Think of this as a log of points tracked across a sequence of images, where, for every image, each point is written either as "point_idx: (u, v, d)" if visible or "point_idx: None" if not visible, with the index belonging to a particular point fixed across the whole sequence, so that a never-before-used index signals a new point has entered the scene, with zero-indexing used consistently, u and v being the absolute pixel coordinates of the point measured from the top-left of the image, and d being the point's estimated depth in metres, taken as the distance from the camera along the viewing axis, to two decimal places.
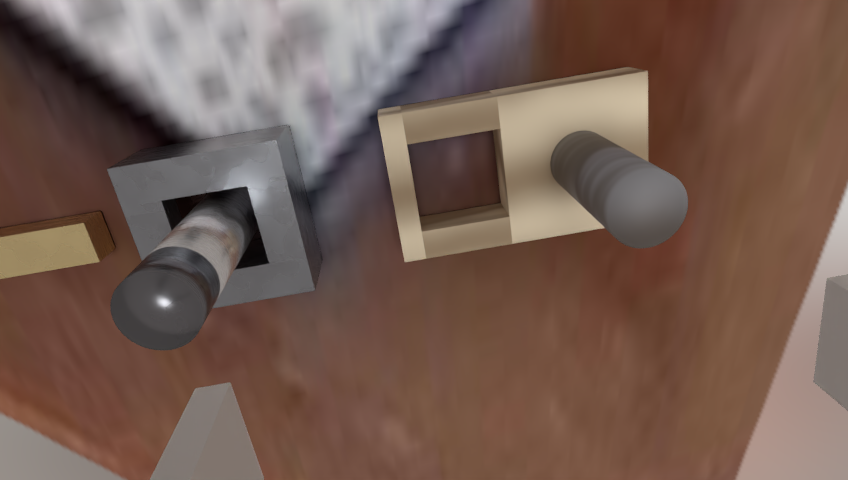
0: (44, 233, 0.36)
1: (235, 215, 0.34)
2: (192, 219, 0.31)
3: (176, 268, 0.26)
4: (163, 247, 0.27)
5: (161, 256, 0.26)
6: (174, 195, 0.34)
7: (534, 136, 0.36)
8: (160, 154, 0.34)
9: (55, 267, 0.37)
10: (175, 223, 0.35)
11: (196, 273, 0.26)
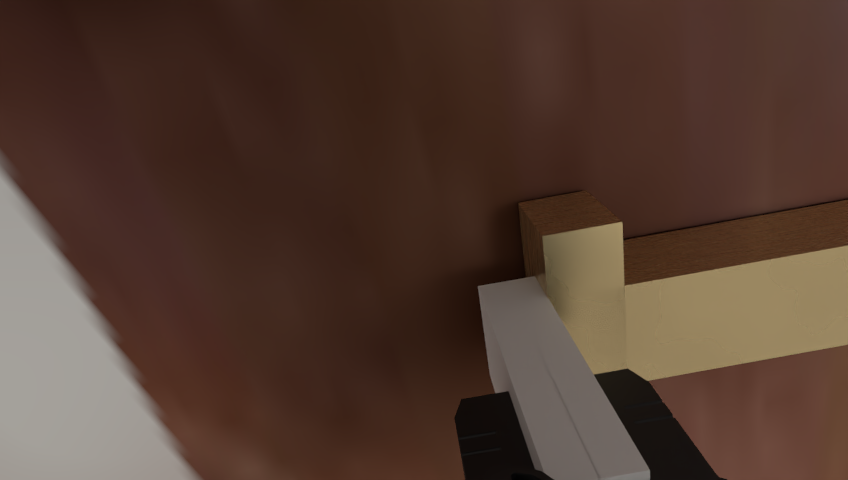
0: None
1: None
2: None
3: None
4: None
5: None
6: None
7: None
8: None
9: None
10: None
11: None
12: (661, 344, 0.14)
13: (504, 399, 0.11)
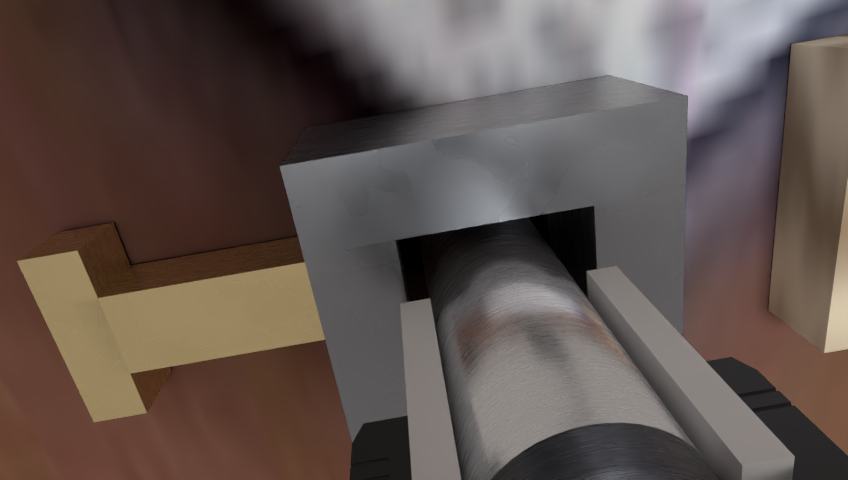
0: None
1: (568, 274, 0.14)
2: (526, 297, 0.12)
3: None
4: (579, 426, 0.08)
5: None
6: (427, 229, 0.14)
7: None
8: (381, 133, 0.15)
9: (320, 336, 0.18)
10: (405, 286, 0.16)
11: None
12: (145, 342, 0.18)
13: (405, 423, 0.11)
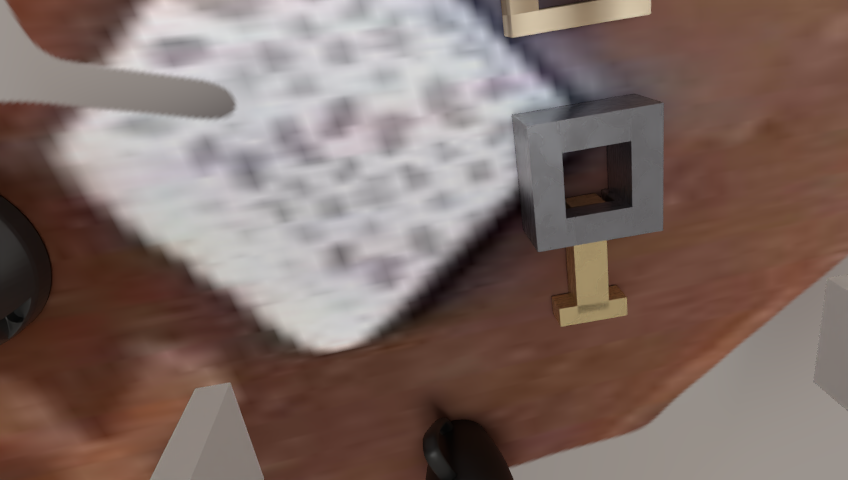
0: None
1: None
2: None
3: None
4: None
5: None
6: (563, 208, 0.43)
7: None
8: (529, 215, 0.45)
9: None
10: (585, 211, 0.44)
11: None
12: (597, 293, 0.49)
13: None
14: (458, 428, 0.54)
